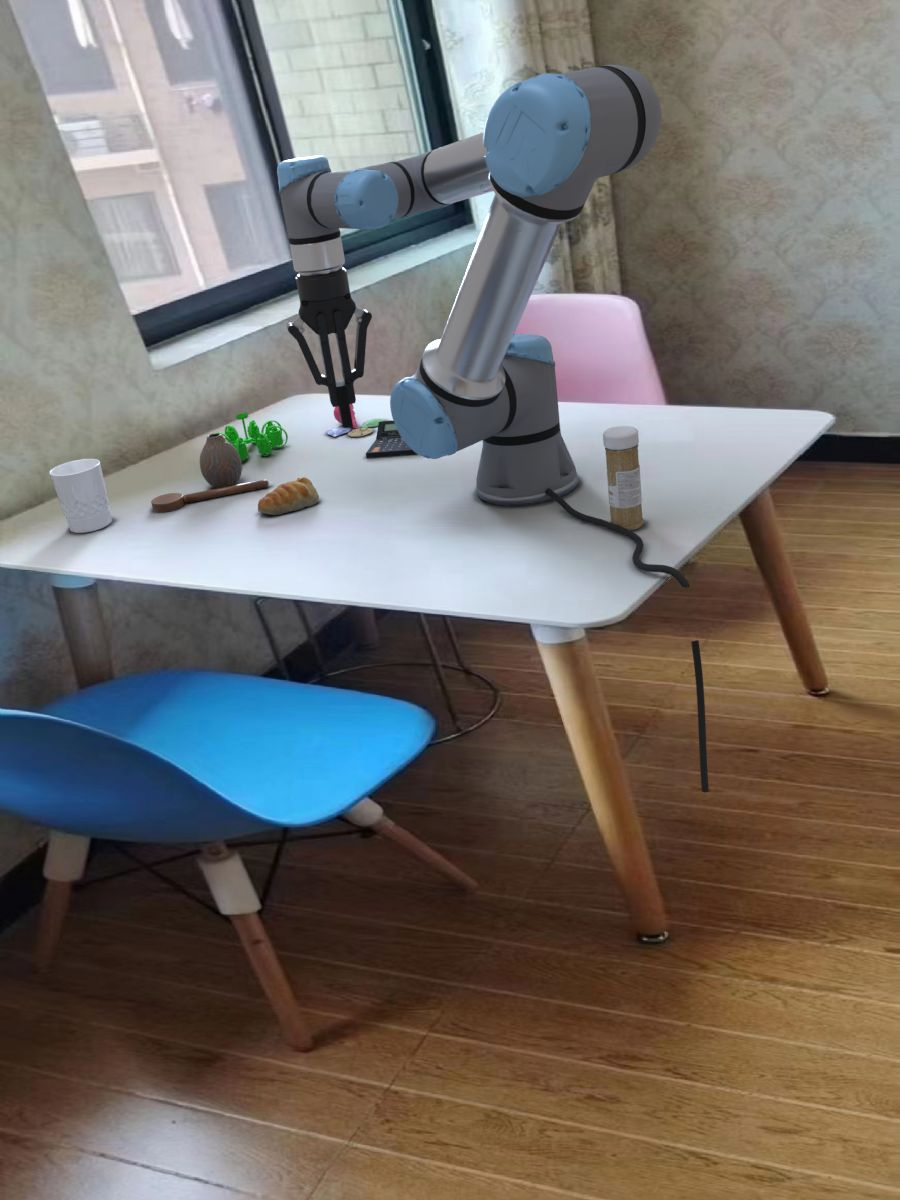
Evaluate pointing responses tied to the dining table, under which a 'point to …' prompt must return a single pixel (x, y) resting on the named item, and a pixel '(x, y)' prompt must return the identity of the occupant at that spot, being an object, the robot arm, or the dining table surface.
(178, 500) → the wooden spoon
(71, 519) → the white cup
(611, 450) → the sprinkles bottle
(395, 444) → the calculator
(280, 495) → the pastry
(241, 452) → the chandelier
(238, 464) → the vase
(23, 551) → the dining table surface
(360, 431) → the toy pieces
